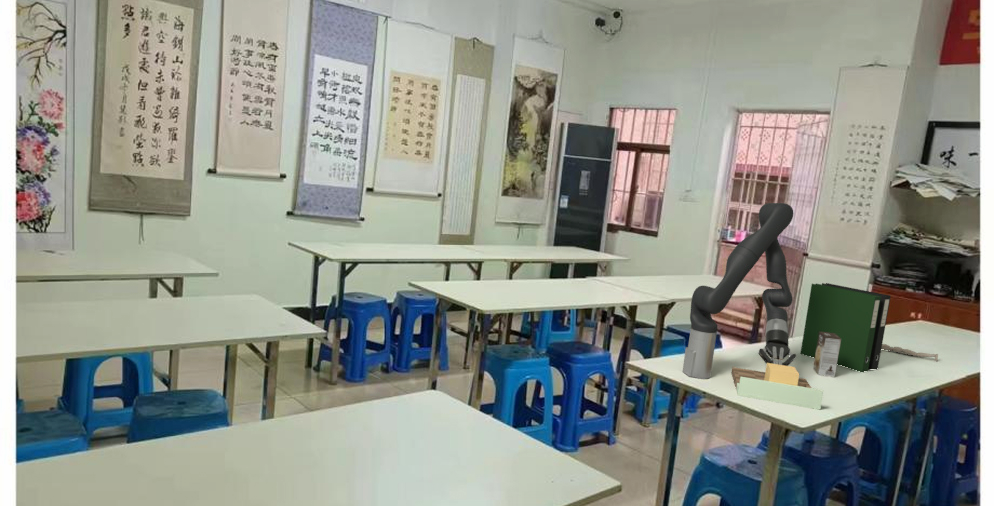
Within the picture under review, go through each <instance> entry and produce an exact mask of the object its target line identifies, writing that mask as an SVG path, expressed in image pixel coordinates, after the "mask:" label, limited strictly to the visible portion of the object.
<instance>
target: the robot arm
mask: <svg viewBox="0 0 994 506" xmlns="http://www.w3.org/2000/svg"><path fill="white" fill-rule="evenodd" d="M793 217H794V209H793V206H791V205H790V204H789V203H785V202H768V203H767V202H766V203H765V204H763V205H762V206H760V208H759V211H758V221H759V227H760V228H759V229H757V230H756V231H755V232H753V233H751V234H750V235H748V236H747V237H745V238H744V239H743V240H741V241H740V242H739V243H738V244H737V245H736V246H735V247H734V249H733V250H732V251H731V253H729V255H728V256H727V259H726V264H725V272H724V276H723V277H722V279H721V281H720V282H719V283H718V284H717V286H716V287H711V286H707V285H700V286H697V287H696V288H695V290H694V291H693V293H692V297H691V301H690V302H691V303H690V311H689V312H690V314H689V319H690V333H689V339H688V345H687V346H686V347H685V350H684V358H683V365H682V373H683V374H686V376H688V377H689V378H697V379H701V380H702V379H703V380H705V379H710V378H711V375H712V374H711V373H712V367H713V361H714V355H715V353H714V352H715V346H716V340H717V332H718V324H717V322H715V320H714V319H713V317H712V315H717V314H719V313H721V312H722V311H723V310H724V309H725V308H726V306H727V305H728V303H729V301H730V300H731V298H732V297H733V296H734V294H735V293H736V290H737V289H738V287H739V285H740V284H741V283H742V281H744V279H745V278H746V276H747V275H748V274H749V272H750V271H751V270H752V269H753V268H754V266H755V265H756V264H757V263H758V261H759V260H760V259H761V257H762V256H763V255H764V254H765V263H766V264H765V265H766V266H765V268H766V269H765V270H766V271H765V272H766V273H765V275H766V280H767V282H768V283H771V284H772V283H773V284H777V285H779V286H780V287H781V288H766V289H765V290H763V292H762V295H761V298H762V302H763V306H764V308H765V311H766V325H765V326H766V328H765V346H764V348H759V350H758V352H757V354H758V355H759V356H760V359H762V360H763V361H764V363H765V365H767V363H772V364H778V365H784V366H790V364H791V363H792V362H794V361H795V360H796V358H797V354H796V353H792V352H791V349H790V346H789V327H788V312H787V310H786V309H784V308H789V307H790V306H792V303H793V299H794V298H793V295H792V291H791V288H790V286H789V282H788V278H787V277H788V275H787V260H786V256H785V253H784V252H783V249H782V247H781V245H780V242H779V238H778V237H779V236H780V235H781V234H782V232H784V230H785V229H787V227H788V226H789V225H790V224H791V222H792V221H793ZM786 357H787V359H786V360H785V361H784V362H783V360H784V359H785V358H786Z"/></svg>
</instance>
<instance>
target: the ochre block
mask: <svg viewBox="0 0 994 506" xmlns="http://www.w3.org/2000/svg"><path fill="white" fill-rule="evenodd" d="M765 365H766V367H765V371H764V372H765V378H764V380H765V381H771V382H777V383H783V384H789V385H795V386H797V385H798V379H799V378H800V374H799V371H798V370H797V368H796V367H795V366H791V365H788V366H784V365H778V364H772V363H767V364H765Z"/></svg>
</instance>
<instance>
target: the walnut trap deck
mask: <svg viewBox="0 0 994 506" xmlns="http://www.w3.org/2000/svg"><path fill="white" fill-rule="evenodd" d="M765 372H766V371H758V370H752V369H746V368H742V367H734V366H732V367H731V372H730V374H731V378H732V381H733V380H734V381H733V383H734V387H737V383H739V382H740V377H746V378H753V379H759V380H764V378H765ZM797 386H801V387H807V388H812V386H811V384H810V383H809V381H807V379H806V378H801V377H799V379H798V385H797Z"/></svg>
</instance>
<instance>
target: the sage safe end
mask: <svg viewBox="0 0 994 506" xmlns="http://www.w3.org/2000/svg"><path fill="white" fill-rule="evenodd" d="M735 390H736V394H737V396H739V397H744V398H748V399H750V398H751V399H756V400H761V401H766V402H774V403H777V404H783V403H784V405H789V404H792V405H791V406H795V405H797V406H796V407H802V408H807V409H812V408H814V410H818V409H820V410H821V407H822V401H823V395H824V390H822V389H818V388H812V387H811V388H807V387H801V386H795V385H789V384H783V383H777V382H771V381H765V380H759V379H753V378H746V377H740V382H739V383H737V387H736V388H735Z"/></svg>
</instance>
